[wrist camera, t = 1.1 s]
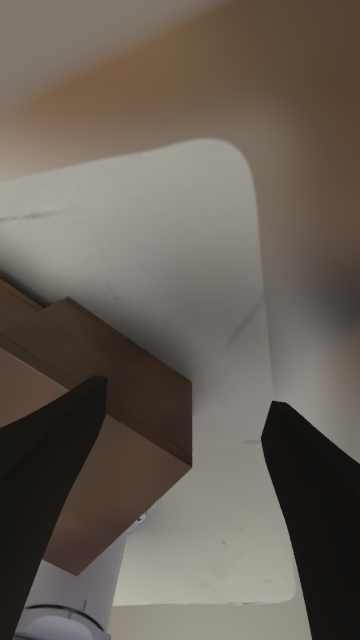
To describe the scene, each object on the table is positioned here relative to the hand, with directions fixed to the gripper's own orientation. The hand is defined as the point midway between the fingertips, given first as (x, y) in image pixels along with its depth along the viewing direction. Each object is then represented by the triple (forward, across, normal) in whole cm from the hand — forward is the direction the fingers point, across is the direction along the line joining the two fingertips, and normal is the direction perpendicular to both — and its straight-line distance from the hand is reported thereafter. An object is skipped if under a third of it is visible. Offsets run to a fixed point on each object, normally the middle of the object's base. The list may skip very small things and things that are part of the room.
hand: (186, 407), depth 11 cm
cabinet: (+10, +8, +8) cm, 15 cm away
